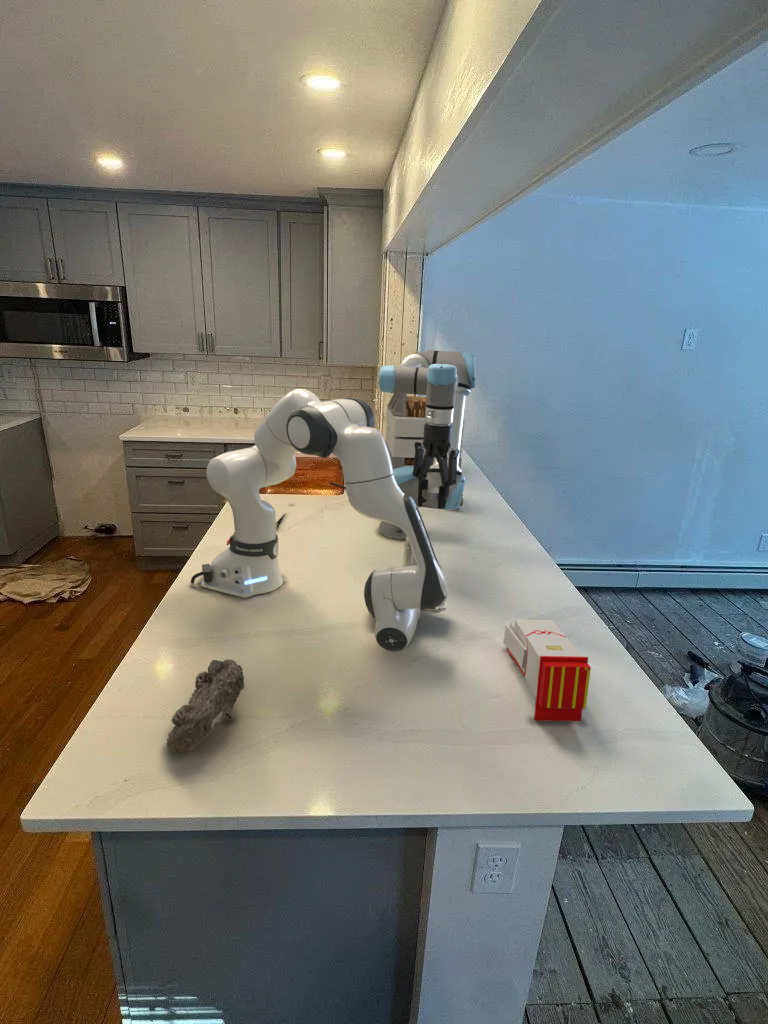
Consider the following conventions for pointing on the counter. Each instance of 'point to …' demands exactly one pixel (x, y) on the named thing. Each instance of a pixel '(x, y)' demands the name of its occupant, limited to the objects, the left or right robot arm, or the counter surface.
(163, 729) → the counter surface
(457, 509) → the figurine character
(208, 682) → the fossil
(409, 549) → the bottle
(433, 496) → the lid
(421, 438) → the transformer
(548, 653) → the toy
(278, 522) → the feather
